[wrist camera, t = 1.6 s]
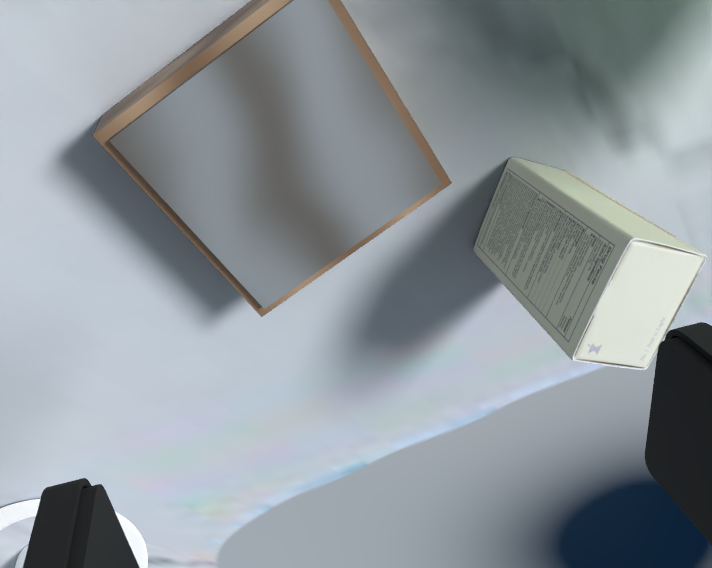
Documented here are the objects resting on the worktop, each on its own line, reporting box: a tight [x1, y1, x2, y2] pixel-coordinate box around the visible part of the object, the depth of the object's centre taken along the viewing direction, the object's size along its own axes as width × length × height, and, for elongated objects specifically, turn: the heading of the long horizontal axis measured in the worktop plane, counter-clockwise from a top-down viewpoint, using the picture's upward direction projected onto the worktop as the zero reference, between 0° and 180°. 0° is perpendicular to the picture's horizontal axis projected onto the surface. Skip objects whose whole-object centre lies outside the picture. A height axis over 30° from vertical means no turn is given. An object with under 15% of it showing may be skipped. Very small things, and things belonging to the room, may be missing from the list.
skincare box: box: [473, 157, 707, 370], centre depth 34 cm, size 6×4×12 cm
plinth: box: [93, 0, 452, 317], centre depth 32 cm, size 12×12×4 cm
